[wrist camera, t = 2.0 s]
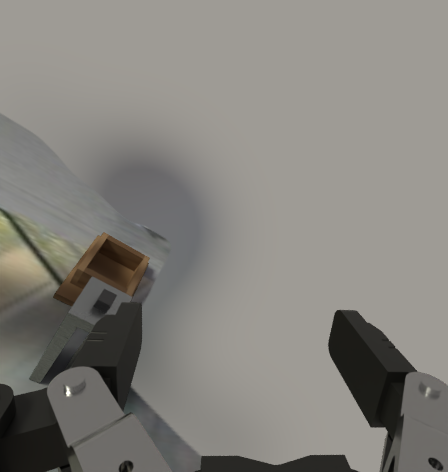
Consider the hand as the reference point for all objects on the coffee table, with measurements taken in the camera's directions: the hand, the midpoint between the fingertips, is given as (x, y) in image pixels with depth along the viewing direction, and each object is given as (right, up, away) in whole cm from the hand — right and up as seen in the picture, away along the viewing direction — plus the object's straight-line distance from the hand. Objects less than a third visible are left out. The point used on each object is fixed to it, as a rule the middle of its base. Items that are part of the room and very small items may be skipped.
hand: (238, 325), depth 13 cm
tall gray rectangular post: (-20, -11, +22) cm, 32 cm away
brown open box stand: (-18, -3, +33) cm, 38 cm away
